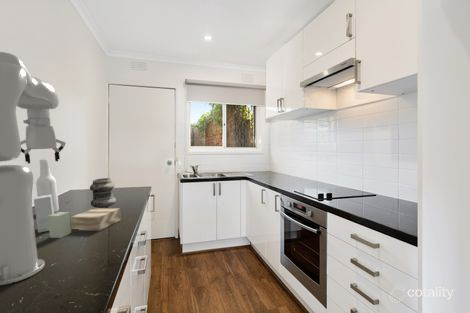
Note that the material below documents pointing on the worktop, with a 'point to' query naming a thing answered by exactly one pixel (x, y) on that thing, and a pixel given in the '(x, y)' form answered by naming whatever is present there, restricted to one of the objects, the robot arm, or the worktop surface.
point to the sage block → (59, 224)
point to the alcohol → (47, 184)
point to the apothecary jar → (102, 193)
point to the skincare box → (43, 211)
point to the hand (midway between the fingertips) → (43, 162)
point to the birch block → (96, 219)
